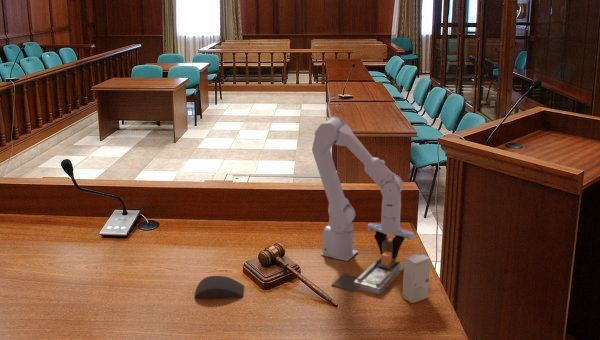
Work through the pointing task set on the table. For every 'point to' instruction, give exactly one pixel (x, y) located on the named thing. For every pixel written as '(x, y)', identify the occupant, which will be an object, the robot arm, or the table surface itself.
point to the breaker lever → (386, 260)
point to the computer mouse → (219, 288)
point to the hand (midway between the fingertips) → (388, 255)
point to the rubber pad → (346, 282)
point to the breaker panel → (377, 277)
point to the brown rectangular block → (388, 247)
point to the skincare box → (416, 277)
